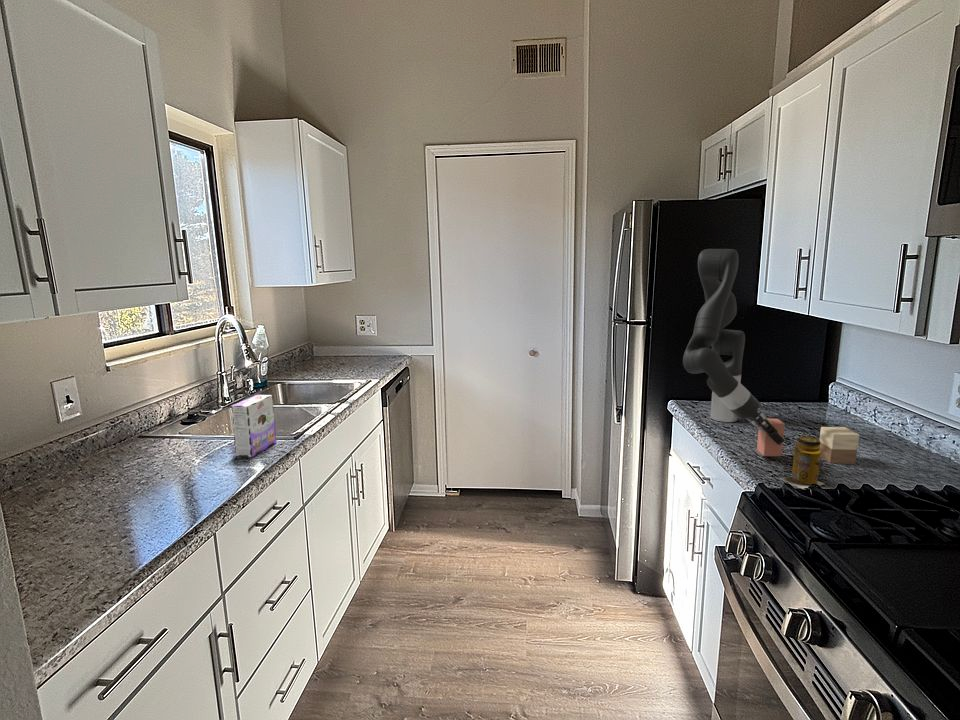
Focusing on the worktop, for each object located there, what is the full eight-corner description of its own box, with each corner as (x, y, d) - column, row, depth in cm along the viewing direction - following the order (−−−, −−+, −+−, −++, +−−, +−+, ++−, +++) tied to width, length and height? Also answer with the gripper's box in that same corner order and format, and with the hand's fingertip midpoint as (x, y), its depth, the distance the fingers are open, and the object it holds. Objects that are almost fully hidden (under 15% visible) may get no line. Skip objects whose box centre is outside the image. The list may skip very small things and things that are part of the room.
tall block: (756, 449, 165) (759, 418, 163) (773, 450, 165) (777, 418, 163) (763, 455, 160) (766, 423, 158) (781, 456, 160) (784, 423, 158)
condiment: (825, 484, 144) (830, 441, 142) (803, 490, 141) (808, 445, 138) (799, 474, 151) (803, 433, 148) (778, 479, 147) (782, 437, 145)
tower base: (817, 455, 165) (819, 441, 164) (841, 455, 165) (843, 441, 164) (830, 463, 158) (831, 449, 158) (855, 464, 158) (857, 449, 157)
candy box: (261, 441, 181) (257, 393, 178) (277, 442, 180) (273, 394, 177) (234, 456, 168) (229, 404, 165) (251, 457, 167) (247, 405, 164)
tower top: (819, 441, 164) (821, 426, 164) (843, 441, 164) (845, 427, 163) (832, 449, 158) (833, 434, 157) (857, 449, 157) (859, 434, 156)
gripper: (758, 397, 153) (799, 439, 154) (739, 385, 167) (776, 423, 168) (737, 415, 154) (777, 456, 155) (719, 401, 168) (756, 439, 169)
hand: (776, 439), depth 162 cm, fingers closed on tall block, 5 cm apart
